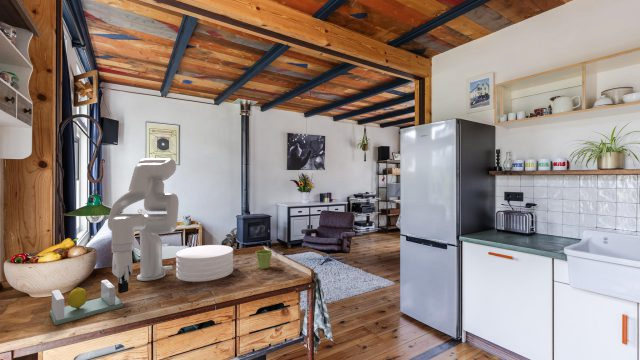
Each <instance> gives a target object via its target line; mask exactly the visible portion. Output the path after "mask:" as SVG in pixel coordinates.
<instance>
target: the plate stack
mask: <svg viewBox="0 0 640 360" xmlns="http://www.w3.org/2000/svg"><path fill="white" fill-rule="evenodd" d="M175 255H176V258H175V261H176V262H175V264H176V265H175V266H176V268H175V270H176V273H175V274H176V275H175V277H176V279H178V280H180V281H184V282H207V281H213V280H218V279H221V278H225V277H227V276H229V275H231V274H232V273H233V271H234V247H231V246H229V245H223V244H207V245H206V244H205V245H197V246H191V247H186V248H184V249H180V250H179V251H177V252H176V254H175Z"/></svg>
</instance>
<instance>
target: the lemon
mask: <svg viewBox="0 0 640 360" xmlns="http://www.w3.org/2000/svg"><path fill="white" fill-rule="evenodd" d="M67 300H68V306H71V307H73V308H76V309H79V308H80V307H81V306H83V305H84V304H85V303H86V301H88V293H87V291H86V290H85V289H84V288H82V287H76V288H74V289H72V290H71V291H70V292H69V295H68V298H67Z"/></svg>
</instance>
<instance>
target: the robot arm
mask: <svg viewBox="0 0 640 360" xmlns="http://www.w3.org/2000/svg"><path fill="white" fill-rule="evenodd" d="M176 170H177V163H176V161H175V160H174V159H173V158H164V157H163V158H162V157H161V158H158V157H156V158H155V157H149V158H148V157H147V158H145V157H144V158H142V159H140V160H139V161H138V164H137V165H135V167H134V169H133V172H132V176H131V180H130V184H129V186H128V190H127V192H125V193H123V195H121V196H120V197H119V198H118V199H117V200H116V201H115V202H114V203H113V204H112V206H111V208H110V212H109V215H108V218H107V227H108V230H110V231H111V253H113V254H112V263H111V264H112V265H111V267H112V268H111V271H112V273H111V274H113V275H114V276H115V277H117V293H118V294H123V293H127V292H129V281H130V277H129V276H132V274H133V254H132V253H133V251H134V250H135V237H134V236H135V232H138V233H139V240H140V242H139V243H140V244H139V245H140V246H139V247H140V250H139V251H140V252H139V253H140V255H139V256H140V257H139V258H140V260H139V261H140V265H139V266H140V274H138V275H136V279H137V281H143V282H144V281H145V282H146V281H147V282H150V281H155V280H159V279H161V278H164V277H165V276H166V271H171V270H173V265H165V266H164V265H163V242H162V241H163V240H162V238H161V236H160V235H159V234H167V233H168V234H169V233H170V234H171V233H174V232H176V230H177V226H178V219H179V218H178V215H179V206H180V205H179V197H178V195H177V194H175V193H172V192H165V183H164V181H166V180H168V179H170V177H172V176H173V175H174V174H175V173H176ZM140 201H143V208H144V210H145V211H147V212H154V213H148V214H147V213H146V214H141V213H123V212H124V211H125V210H126V208H128V207H129V206H131V205H133V204H135V203H137V202H140ZM120 212H122V213H120ZM155 212H166V213H155Z"/></svg>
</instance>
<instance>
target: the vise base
mask: <svg viewBox="0 0 640 360" xmlns="http://www.w3.org/2000/svg"><path fill="white" fill-rule="evenodd" d="M123 307H124V302H123V301H122V300H121V299H120V298H118V296H117V295H115V304H113V305H110V306H109V305H108V304H107V303H106V302H105V301H104V300H103V298H102V297H99V298H94V299H92V300H87V301H86V303H85V304H84V305H83V306H81V307H80V308H79V309H76V308H73V307H71V306H70V305H66V306H65V297H64V295H63V294H62V292H61V291H60V289H54V290H51V309H50V310H49V315H50V318H51V320H52V322H53V324H54V326H58V325H61V324H64V323H68V322H72V321H76V320H79V319H83V318H86V316H87V317H91V316H93V315H96V314H97V313H98V314H102V313H104V312H109V311H112V310H116V309H120V308H123ZM108 310H109V311H108ZM90 315H91V316H90Z"/></svg>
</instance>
